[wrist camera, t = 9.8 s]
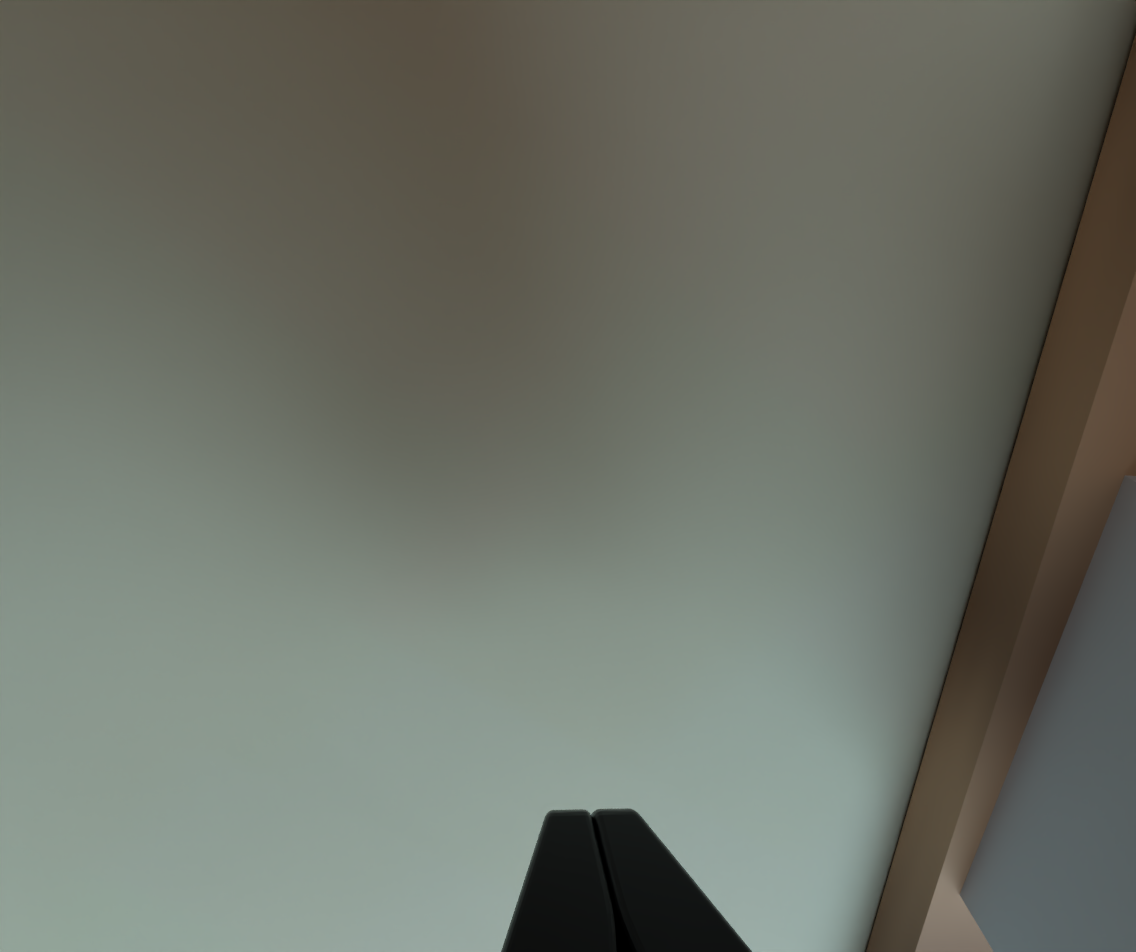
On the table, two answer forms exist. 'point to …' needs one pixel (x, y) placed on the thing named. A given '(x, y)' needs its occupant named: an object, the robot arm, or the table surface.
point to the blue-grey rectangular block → (1073, 779)
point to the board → (1028, 559)
